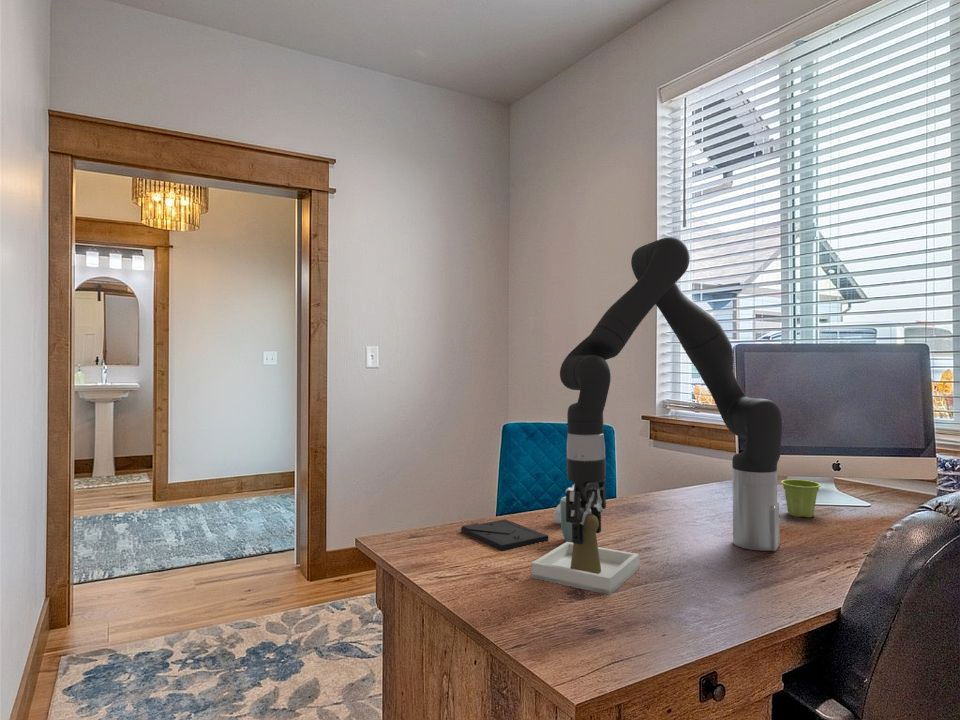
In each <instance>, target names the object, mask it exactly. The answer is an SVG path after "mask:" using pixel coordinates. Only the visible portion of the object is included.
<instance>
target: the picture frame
mask: <svg viewBox="0 0 960 720" xmlns="http://www.w3.org/2000/svg"><path fill="white" fill-rule="evenodd" d="M460 532H461V534H463V535H466V536H468V537H470V538H472V539H474V540H477V541H478V542H481V543H484V544H485V545H487V546H489V545H490V546H489V547H492V548H494V549H496V550H497V551H498V550H499V551H501V552H504V551H510V550H514V548H515V549H519V548H524V547H528V546H532V545H531V544H533V545H536V544H535V543H538V544H540V543H539V542H542V543H545V542H544V541H547V542H549V535H548V534H545V533H542V532H540V531H537V530H534V529H532V528H530V527H526V526H524V525H522V524H519V523H516V522H514V521H512V520H508V519H499V520H494V521H488V522H482V523H471V524H465V525H461V527H460ZM527 545H528V546H527ZM523 546H524V547H523ZM518 547H519V548H518Z"/></svg>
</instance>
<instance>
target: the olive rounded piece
mask: <svg viewBox="0 0 960 720" xmlns="http://www.w3.org/2000/svg"><path fill="white" fill-rule="evenodd" d="M580 517H581V514H580ZM598 526H599V522H598V519H597V517H596V516H595V515H593V514H587V515H586V517H585V521H584V543H583V544H576V543H573V551H572V559H571V567H570V568H571V569H576V570H581V571H586V572H591V573H596V574H599V573H600V572H601V566H600V558H599V551H598V547H599V544H598V539H597V533H596V531H597V529H598Z"/></svg>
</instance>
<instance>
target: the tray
mask: <svg viewBox="0 0 960 720" xmlns="http://www.w3.org/2000/svg"><path fill="white" fill-rule="evenodd" d="M572 551H573V543H572V542H567V541H565V542H564V543H562V544H560V545H559V546H558V547H555V548H554V549H552V550H550V551H549V552H547V553H545V554H543V555H542V556H541V557H539V558H538V559H535V560H534V561H532V562H531V579H533V578H534V580H538V579H539V580H540V581H543V580H544V582H547V581H549V582H548V583H552V582H553V584H556V583H559V584H558V585H561V584H563V585H562V586H567V587H570V586H571V587H570V588H577V589H581V590H585V591H590V592H595V593H599V594H602V595H603V594H604V595H609V596H611V595H612V594H613V593H615V591H617V590H618V589H619V588H620V587H622V586H623V585H624V584H625V583H626V582H627V581H628V580H629V579H630V578H631V577H632V576H633V575H634V573H635V572H636V571H637V570H638V571H639V570H640V562H641V561H640V554H639V553H634V552H629V551H624V550H617V549H611V548H606V547H600V546H598V551H599V558H600V566H601V572H600V573H599V574H596V573H591V572H586V571H581V570H576V569H571V568H570V567H571V559H572ZM638 571H637V572H638ZM637 572H636V573H637ZM636 573H635V574H636ZM627 579H628V580H627ZM626 580H627V581H626ZM625 581H626V582H625ZM624 582H625V583H624Z"/></svg>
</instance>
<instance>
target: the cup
mask: <svg viewBox="0 0 960 720" xmlns="http://www.w3.org/2000/svg"><path fill="white" fill-rule="evenodd" d="M559 504H560V516H561V523H560V528H561V534H562V537H563V539H564V540H565V542H572V543H573V541H572V523H569V522H566V495H565V496H563V497H561V498H560V502H559ZM590 513H591V512H590V511H589V514H590ZM571 514H572V510H571Z"/></svg>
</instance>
